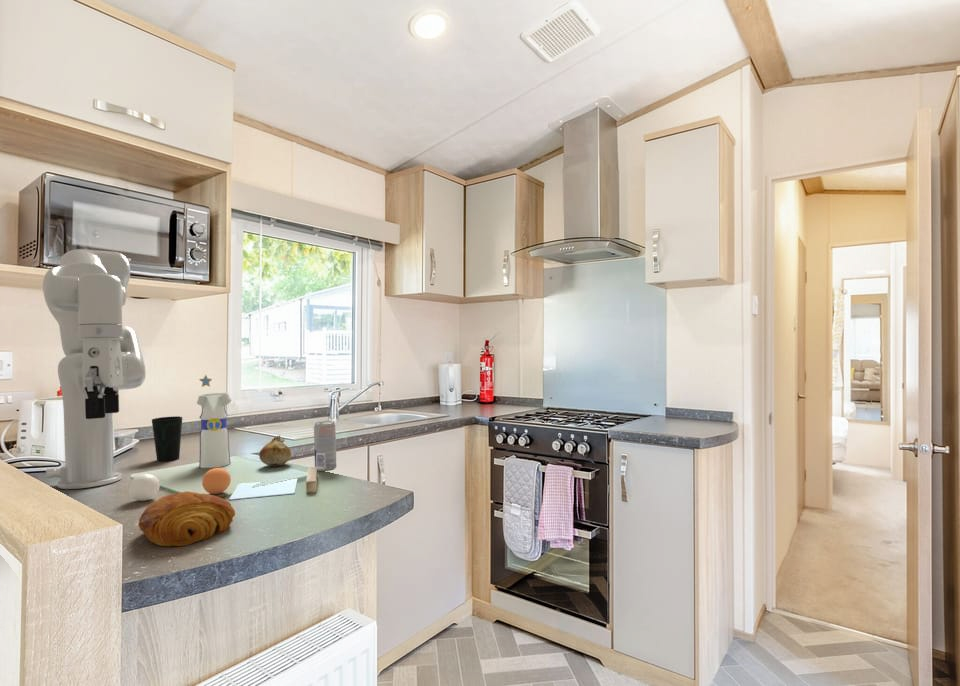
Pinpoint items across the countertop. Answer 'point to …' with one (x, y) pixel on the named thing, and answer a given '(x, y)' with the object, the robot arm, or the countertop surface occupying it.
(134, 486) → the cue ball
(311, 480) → the stop rail
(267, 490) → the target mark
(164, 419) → the cup
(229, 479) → the brown egg
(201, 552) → the countertop surface
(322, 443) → the energy drink
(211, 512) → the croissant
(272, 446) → the onion
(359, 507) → the countertop surface
